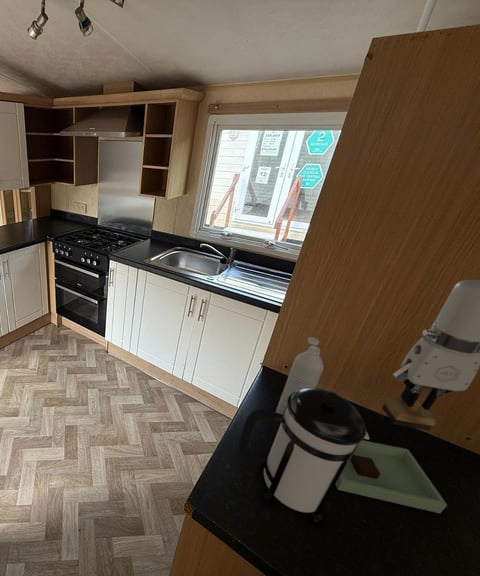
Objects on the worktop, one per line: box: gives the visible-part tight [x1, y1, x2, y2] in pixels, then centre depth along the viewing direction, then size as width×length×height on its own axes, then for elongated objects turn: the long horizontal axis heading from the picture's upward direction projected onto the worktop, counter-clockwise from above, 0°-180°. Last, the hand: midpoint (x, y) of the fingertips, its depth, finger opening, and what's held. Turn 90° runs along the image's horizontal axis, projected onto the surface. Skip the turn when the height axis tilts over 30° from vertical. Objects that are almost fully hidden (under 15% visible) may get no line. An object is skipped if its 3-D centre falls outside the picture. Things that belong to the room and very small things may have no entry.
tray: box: [334, 439, 448, 514], centre depth 75 cm, size 20×14×3 cm
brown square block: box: [350, 455, 380, 479], centre depth 75 cm, size 4×4×2 cm
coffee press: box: [238, 387, 370, 525], centre depth 65 cm, size 17×16×30 cm
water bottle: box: [275, 336, 325, 417], centre depth 86 cm, size 9×6×25 cm
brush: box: [381, 386, 438, 431], centre depth 72 cm, size 7×5×10 cm
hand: (414, 403), depth 72 cm, fingers closed on brush, 2 cm apart
